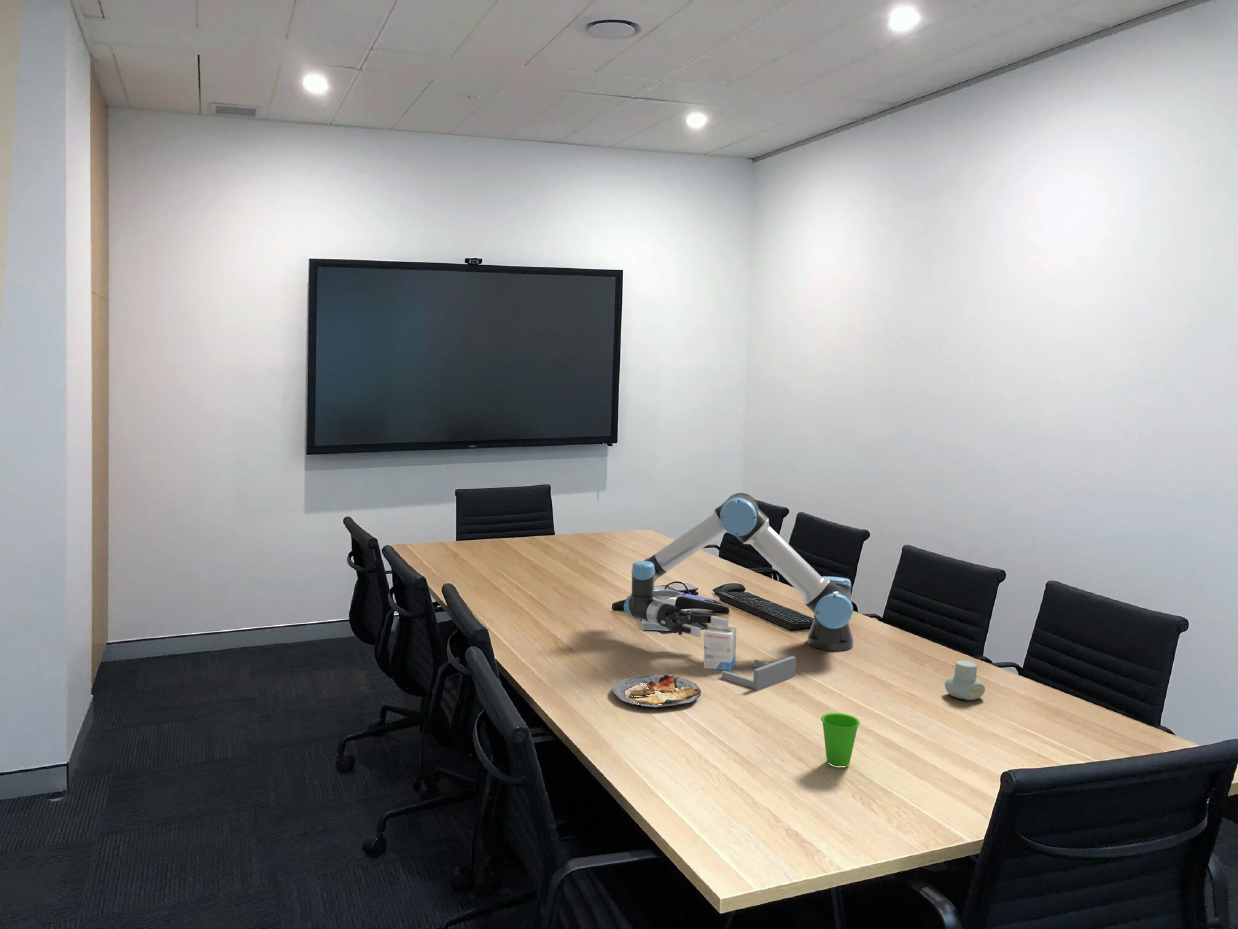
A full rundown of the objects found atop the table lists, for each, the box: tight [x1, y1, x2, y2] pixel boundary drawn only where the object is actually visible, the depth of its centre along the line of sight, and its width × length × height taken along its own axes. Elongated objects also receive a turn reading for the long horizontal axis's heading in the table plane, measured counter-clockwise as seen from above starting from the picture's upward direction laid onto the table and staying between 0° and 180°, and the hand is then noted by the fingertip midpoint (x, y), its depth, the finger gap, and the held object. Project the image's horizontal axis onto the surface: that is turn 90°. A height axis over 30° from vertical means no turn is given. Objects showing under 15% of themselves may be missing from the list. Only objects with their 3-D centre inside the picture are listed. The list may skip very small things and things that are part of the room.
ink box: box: [703, 624, 737, 672], centre depth 298 cm, size 9×8×13 cm
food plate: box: [612, 674, 702, 708], centre depth 271 cm, size 25×23×4 cm
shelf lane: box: [721, 655, 797, 692], centre depth 288 cm, size 14×19×6 cm
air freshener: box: [944, 660, 986, 701], centre depth 275 cm, size 11×8×10 cm
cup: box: [820, 712, 861, 766], centre depth 228 cm, size 9×9×11 cm
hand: (714, 628), depth 299 cm, fingers open, 13 cm apart
